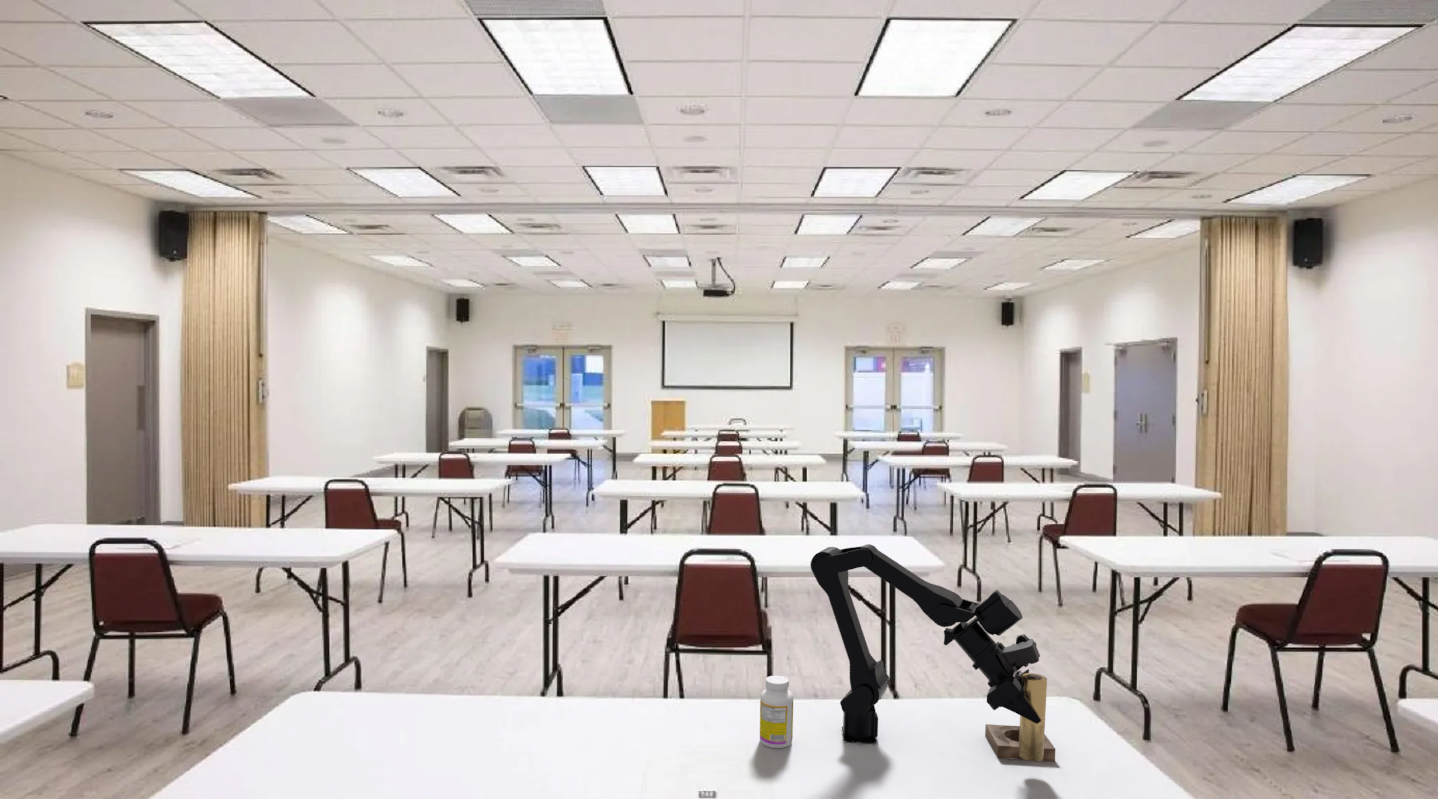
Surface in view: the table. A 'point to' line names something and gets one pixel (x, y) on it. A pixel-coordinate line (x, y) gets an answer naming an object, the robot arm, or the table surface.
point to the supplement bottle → (776, 713)
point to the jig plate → (1012, 742)
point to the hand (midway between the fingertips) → (1040, 717)
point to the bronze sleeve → (1030, 731)
